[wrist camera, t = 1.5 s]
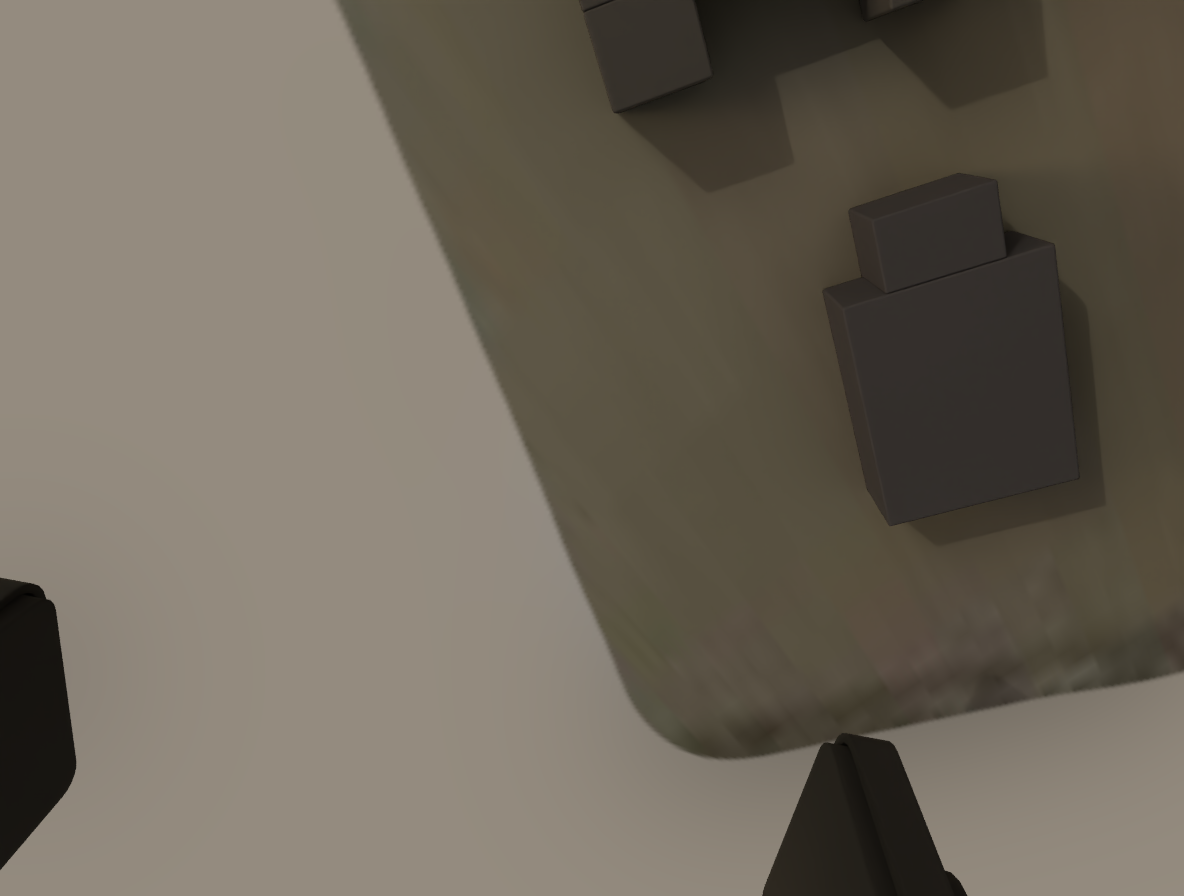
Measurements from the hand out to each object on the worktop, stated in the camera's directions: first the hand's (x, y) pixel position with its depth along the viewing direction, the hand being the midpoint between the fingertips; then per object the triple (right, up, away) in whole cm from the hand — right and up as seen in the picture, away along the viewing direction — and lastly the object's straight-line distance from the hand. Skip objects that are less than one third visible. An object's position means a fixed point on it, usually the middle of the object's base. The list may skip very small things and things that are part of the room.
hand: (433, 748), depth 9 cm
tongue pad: (+15, +8, +20) cm, 27 cm away
